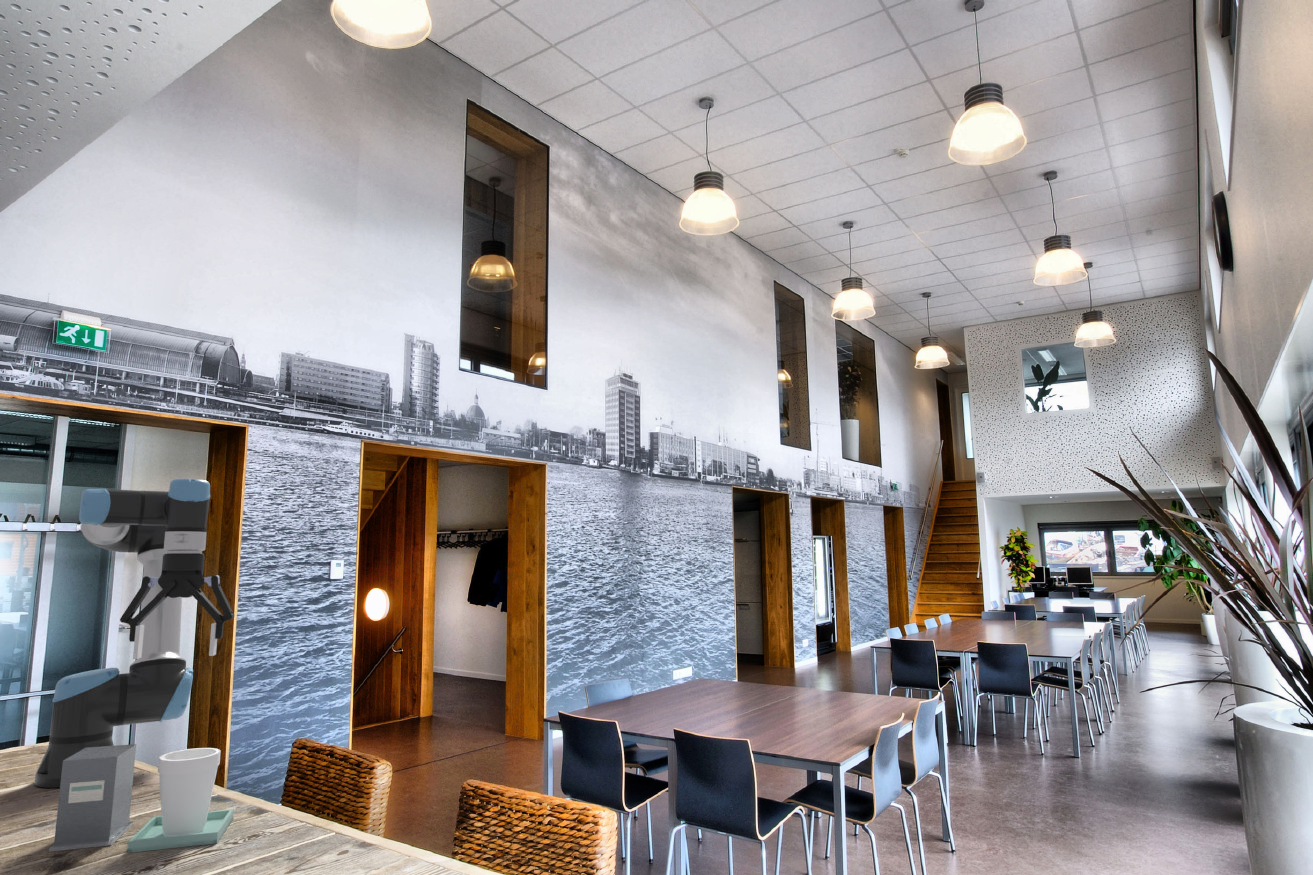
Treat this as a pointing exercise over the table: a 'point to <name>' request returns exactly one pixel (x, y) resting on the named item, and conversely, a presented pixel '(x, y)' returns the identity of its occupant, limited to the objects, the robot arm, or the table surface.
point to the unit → (94, 797)
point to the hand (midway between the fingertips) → (175, 656)
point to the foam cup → (186, 789)
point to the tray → (154, 839)
